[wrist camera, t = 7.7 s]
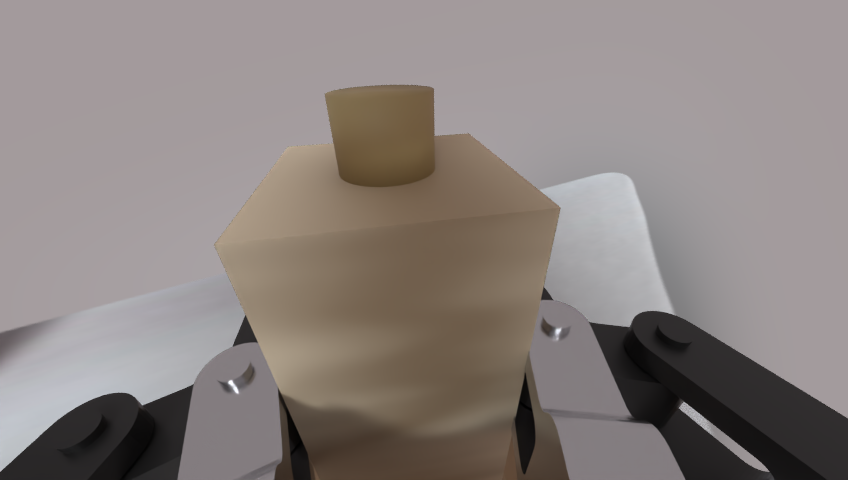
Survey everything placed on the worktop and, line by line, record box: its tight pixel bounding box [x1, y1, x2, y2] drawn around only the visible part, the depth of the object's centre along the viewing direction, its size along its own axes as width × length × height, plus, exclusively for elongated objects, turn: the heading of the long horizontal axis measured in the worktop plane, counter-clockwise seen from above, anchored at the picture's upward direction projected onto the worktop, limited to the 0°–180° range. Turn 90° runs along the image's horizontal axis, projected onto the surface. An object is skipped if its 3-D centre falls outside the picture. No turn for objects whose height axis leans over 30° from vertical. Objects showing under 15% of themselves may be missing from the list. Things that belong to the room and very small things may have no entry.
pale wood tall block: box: [214, 85, 560, 480], centre depth 8 cm, size 5×6×11 cm
